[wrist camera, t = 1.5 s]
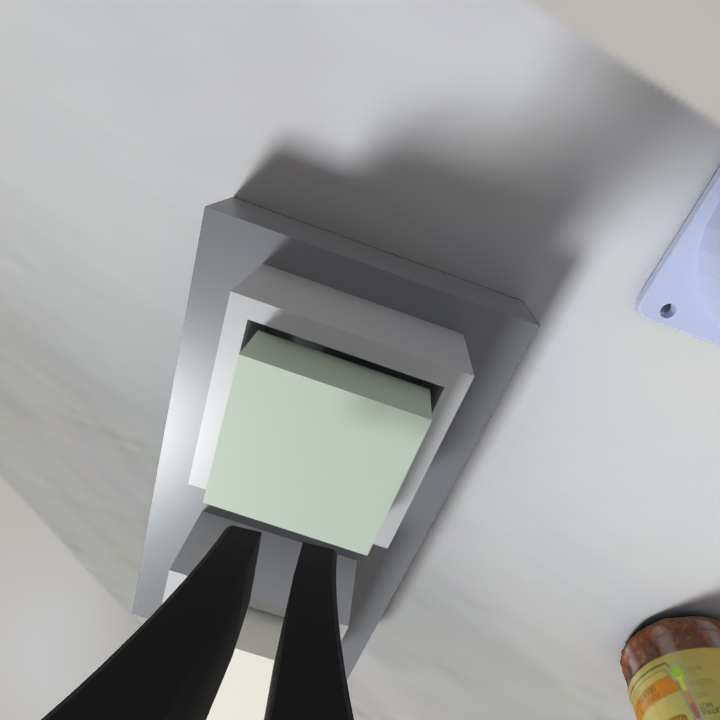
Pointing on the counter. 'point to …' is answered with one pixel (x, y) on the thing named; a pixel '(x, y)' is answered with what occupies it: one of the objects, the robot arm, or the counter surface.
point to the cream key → (249, 669)
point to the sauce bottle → (674, 669)
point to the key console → (345, 341)
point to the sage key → (315, 442)
